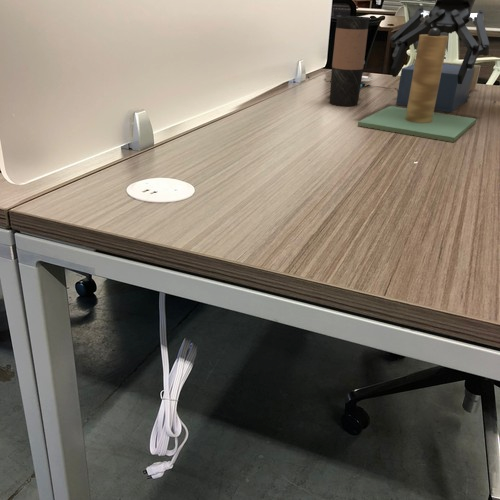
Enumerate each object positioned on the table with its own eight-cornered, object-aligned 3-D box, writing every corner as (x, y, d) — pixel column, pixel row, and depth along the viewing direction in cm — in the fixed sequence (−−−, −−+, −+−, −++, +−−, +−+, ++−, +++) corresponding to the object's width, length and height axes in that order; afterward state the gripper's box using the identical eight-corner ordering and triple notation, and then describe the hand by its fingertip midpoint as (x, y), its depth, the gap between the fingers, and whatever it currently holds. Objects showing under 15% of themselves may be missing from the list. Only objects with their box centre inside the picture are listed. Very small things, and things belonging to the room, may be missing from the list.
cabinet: (415, 94, 141) (421, 61, 137) (466, 101, 135) (474, 66, 131) (395, 104, 129) (401, 68, 125) (451, 112, 122) (459, 74, 118)
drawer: (434, 83, 153) (439, 59, 150) (478, 89, 147) (483, 64, 144) (414, 93, 138) (419, 66, 135) (462, 99, 132) (468, 72, 129)
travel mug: (364, 105, 127) (376, 18, 117) (338, 107, 124) (347, 17, 115) (348, 99, 133) (358, 16, 123) (323, 101, 130) (331, 15, 121)
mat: (475, 123, 113) (476, 118, 113) (453, 142, 98) (454, 137, 98) (389, 110, 123) (389, 106, 122) (357, 126, 108) (357, 121, 107)
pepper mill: (435, 119, 111) (453, 27, 102) (427, 124, 107) (446, 29, 98) (409, 115, 114) (425, 26, 105) (401, 120, 109) (417, 27, 101)
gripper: (519, 10, 106) (488, 94, 102) (402, 5, 118) (370, 81, 113) (523, -19, 99) (490, 70, 95) (399, -21, 111) (365, 58, 107)
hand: (425, 76), depth 104 cm, fingers open, 13 cm apart
